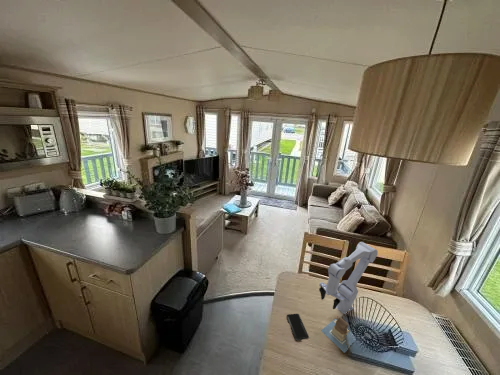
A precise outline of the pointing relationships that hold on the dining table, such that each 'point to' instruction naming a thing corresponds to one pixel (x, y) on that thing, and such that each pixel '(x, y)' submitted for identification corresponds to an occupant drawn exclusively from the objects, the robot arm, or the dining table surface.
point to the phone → (297, 327)
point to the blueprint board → (332, 337)
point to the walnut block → (341, 325)
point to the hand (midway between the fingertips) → (328, 303)
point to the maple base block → (339, 334)
